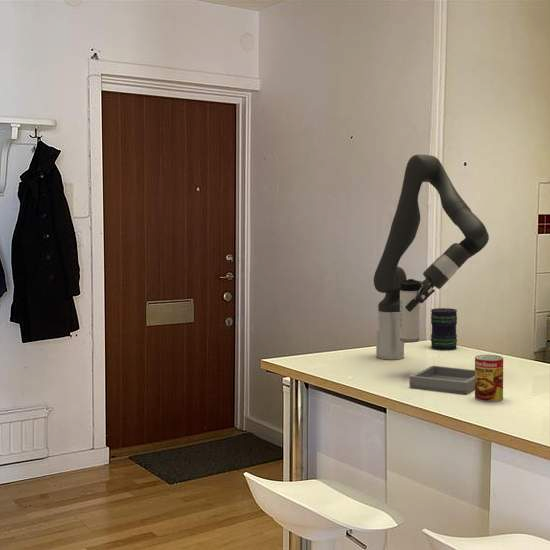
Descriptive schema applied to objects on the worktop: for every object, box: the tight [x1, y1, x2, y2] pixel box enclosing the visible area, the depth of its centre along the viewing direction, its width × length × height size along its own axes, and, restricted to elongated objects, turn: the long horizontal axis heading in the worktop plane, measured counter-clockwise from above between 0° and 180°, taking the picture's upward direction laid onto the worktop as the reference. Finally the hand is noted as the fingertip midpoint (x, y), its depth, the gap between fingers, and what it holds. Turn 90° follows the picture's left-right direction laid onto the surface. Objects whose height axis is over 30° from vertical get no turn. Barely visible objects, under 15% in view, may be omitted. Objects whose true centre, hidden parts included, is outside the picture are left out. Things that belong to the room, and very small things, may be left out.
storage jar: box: [430, 307, 458, 352], centre depth 305 cm, size 10×10×15 cm
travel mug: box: [400, 278, 420, 343], centre depth 258 cm, size 6×7×20 cm
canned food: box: [474, 354, 504, 403], centre depth 228 cm, size 8×8×12 cm
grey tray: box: [409, 365, 475, 395], centre depth 245 cm, size 18×18×4 cm
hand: (404, 308), depth 258 cm, fingers closed on travel mug, 6 cm apart
